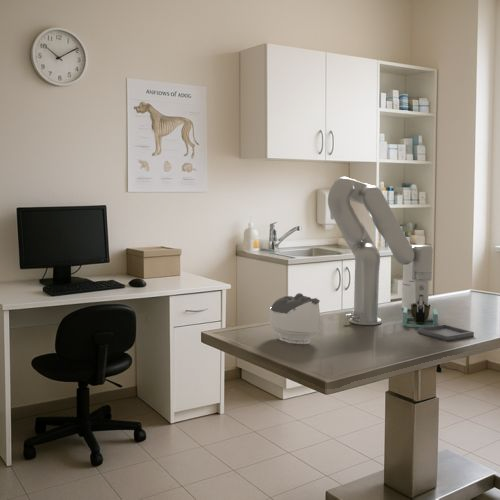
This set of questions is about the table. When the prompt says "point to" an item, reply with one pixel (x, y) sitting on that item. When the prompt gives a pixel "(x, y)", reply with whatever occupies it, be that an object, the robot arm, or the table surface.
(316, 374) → the table surface
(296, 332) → the white bowl with contents
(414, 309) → the cup
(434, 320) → the holder
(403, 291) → the cylindrical container
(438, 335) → the tray
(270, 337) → the table surface
